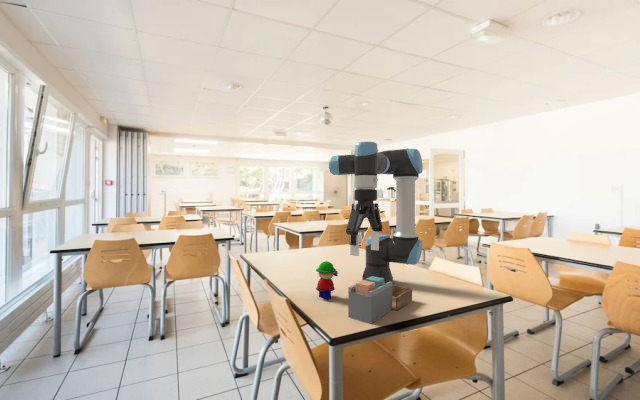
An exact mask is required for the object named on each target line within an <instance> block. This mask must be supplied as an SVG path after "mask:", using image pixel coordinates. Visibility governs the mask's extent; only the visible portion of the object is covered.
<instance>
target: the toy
mask: <svg viewBox="0 0 640 400" xmlns="http://www.w3.org/2000/svg"><path fill="white" fill-rule="evenodd" d="M315 271H316V272H317V273H318V276H319V280H318V282H317V285H316V288H315V290H316V291H317V292H318V297H319V298H322V299H324V300H327V301H328V300H332V299H331V298H332V292H333V291H335V289H336V288H335V286H334V285H335V284H334V282H333V280H332V279H333V277H338V270H337V269H336V268H335V267H334V265H333V263H332V262H331V261H327V260H326V261H323V262H320V264H319V266H318V268H316V269H315Z"/></svg>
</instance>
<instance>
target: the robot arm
mask: <svg viewBox="0 0 640 400" xmlns="http://www.w3.org/2000/svg"><path fill="white" fill-rule="evenodd" d="M354 146H355V147H354V154H342V155H332V156H331V157H330V158H329V160H328V170H329V173H330V174H331V175H332V176H347V175H348V176H349V175H354V182H353V183H354V184H353V185H354V187H353V188H354V189H355V190H354V191H353V192H354V194H353V195H354V196H353V197H354V198H353V199H354V201H356V202H357V203H355V202H354V203H352V204H351V211H350V215H349V217H348V218H349V219H348V223H347V226H346V230H345V233H346V234H347V235H349V236H350V238H349V240H350V243H349V244H350V246H349V247H350V248H349V249H350V256H353V257H354V256H356V257H359V256H360V235H359V232H360V229H361V227H362V224H363V221H364V219H366V218H367V220H368V222H369V225H370V228H371V231H370V235H369V236H367V237H366V239H365V267H364V270H363V273H362V277H361V278H362V279H361V281H362V280H366V279H367V278H369V277H371V276H374V277H380V278H384V283H387V282H389V281H390V282H392V285H394V277H393V273H392V270H391V267H390V264H391V263H395V264H404V265H417V264H418V263H419V262H420V259H421V257H422V256H421V255H422V251H423V240H421V239H419V235H418V234H417V233H416V181H417V180H418V179H419V174H422V173H423V170H424V166H423V159H422V156H421V152H420V150H418V149H417V148H403V149H392V150H391V149H390V150H383V151H379V149H378V144H377V142H375V141H359V142H357V143H356V144H355V145H354ZM378 175H393V176H392V178H393V180H395V182H396V185H395V186H396V187H395V188H396V191H395V194H396V195H395V196H396V198H395V199H396V201H395V202H396V203H395V206H396V207H395V208H396V212H395V216H396V220H395V222H396V223H395V224H396V225H395V228H396V229H395V230H396V231H395V232H394V233H393V234H392V237H391V236H390V235H389V234H380V232H382V231H383V224H382V220H381V219H382V218H381V214H380V210H379V203H376V202H375V201H378V190H377V188H378V181H379V179H378Z"/></svg>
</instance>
